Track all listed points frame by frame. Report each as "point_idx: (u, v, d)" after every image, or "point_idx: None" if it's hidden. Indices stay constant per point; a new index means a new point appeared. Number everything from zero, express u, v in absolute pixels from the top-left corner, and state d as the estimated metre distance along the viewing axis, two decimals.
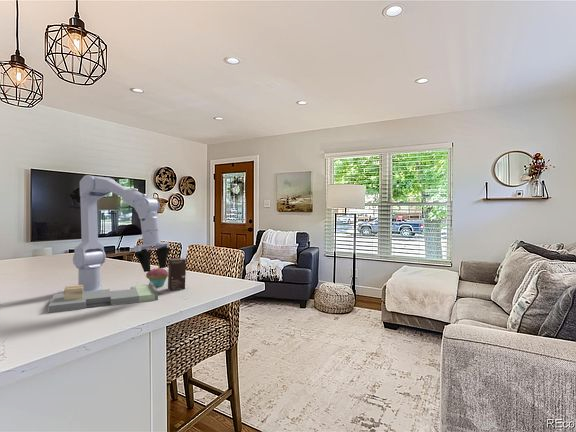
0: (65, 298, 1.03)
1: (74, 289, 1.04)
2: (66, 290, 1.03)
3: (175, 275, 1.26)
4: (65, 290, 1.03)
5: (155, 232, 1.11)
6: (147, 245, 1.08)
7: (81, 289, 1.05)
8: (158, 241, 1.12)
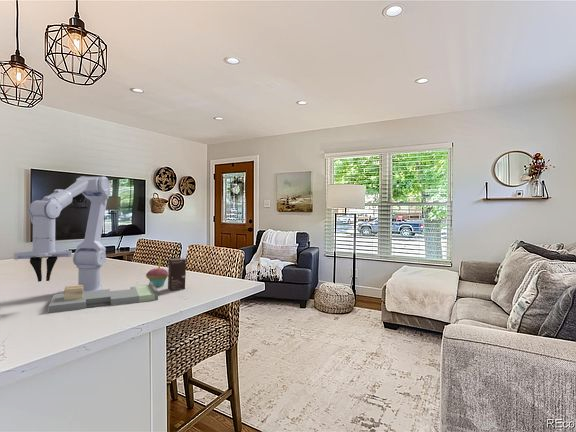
0: (65, 298, 1.03)
1: (74, 289, 1.04)
2: (66, 290, 1.03)
3: (175, 275, 1.26)
4: (65, 290, 1.03)
5: (39, 241, 0.99)
6: (26, 254, 0.98)
7: (81, 289, 1.05)
8: (43, 251, 0.99)
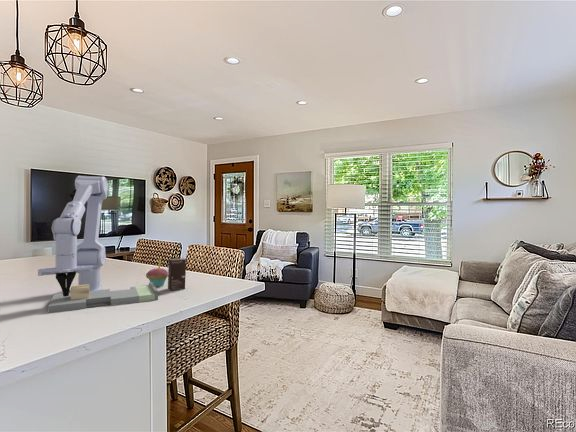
0: (72, 297, 1.04)
1: (80, 288, 1.05)
2: (73, 289, 1.04)
3: (175, 275, 1.26)
4: (72, 289, 1.04)
5: (62, 257, 1.02)
6: (50, 270, 1.01)
7: (87, 288, 1.06)
8: (65, 267, 1.02)
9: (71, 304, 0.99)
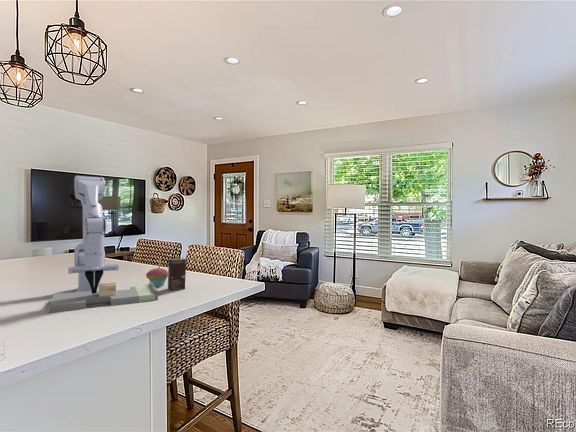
0: (100, 295, 1.08)
1: (108, 286, 1.09)
2: (101, 287, 1.08)
3: (175, 275, 1.26)
4: (100, 287, 1.07)
5: (91, 256, 1.06)
6: (79, 268, 1.05)
7: (114, 286, 1.10)
8: (94, 265, 1.06)
9: (71, 304, 0.99)
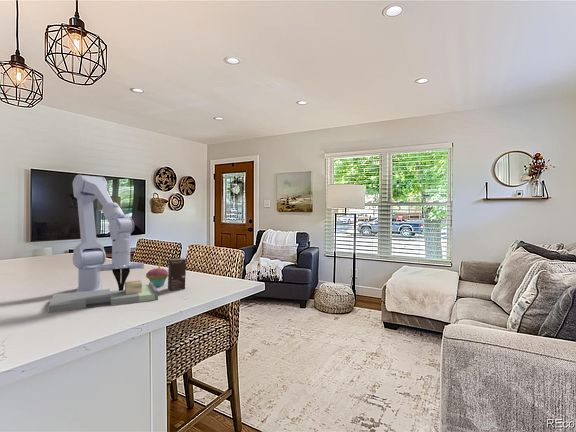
0: (127, 292, 1.12)
1: (134, 284, 1.13)
2: (128, 284, 1.12)
3: (175, 275, 1.26)
4: (127, 284, 1.12)
5: (119, 254, 1.10)
6: (108, 267, 1.09)
7: (140, 284, 1.14)
8: (121, 264, 1.10)
9: (71, 304, 0.99)
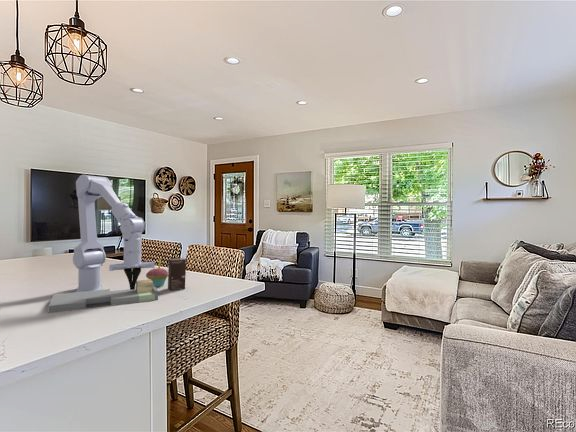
0: (138, 291, 1.13)
1: (145, 283, 1.15)
2: (139, 283, 1.14)
3: (175, 275, 1.26)
4: (138, 283, 1.13)
5: (131, 254, 1.12)
6: (120, 266, 1.11)
7: (151, 283, 1.16)
8: (133, 263, 1.12)
9: (71, 304, 0.99)
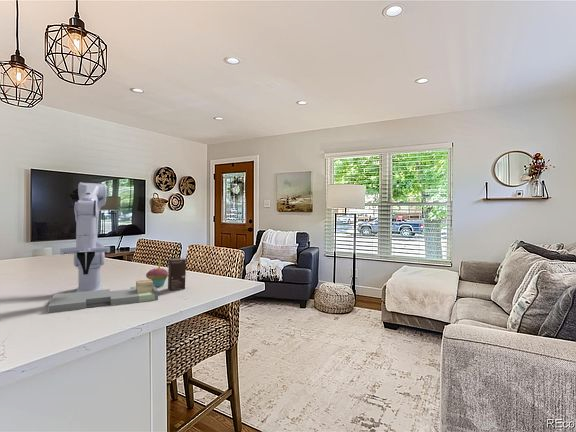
0: (138, 291, 1.13)
1: (145, 283, 1.15)
2: (139, 283, 1.14)
3: (175, 275, 1.26)
4: (138, 283, 1.13)
5: (83, 237, 1.08)
6: (71, 250, 1.07)
7: (151, 283, 1.16)
8: (86, 247, 1.09)
9: (71, 304, 0.99)
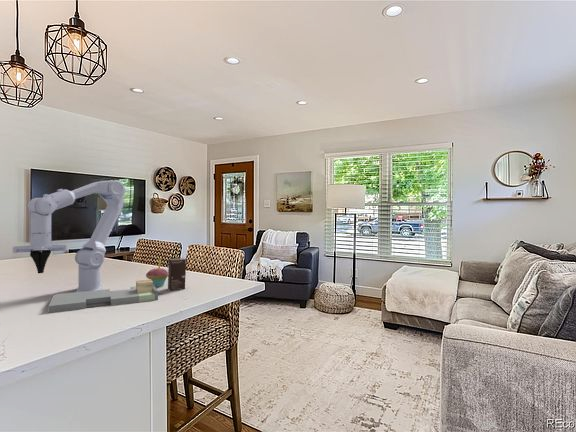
0: (138, 291, 1.13)
1: (145, 283, 1.15)
2: (139, 283, 1.14)
3: (175, 275, 1.26)
4: (138, 283, 1.13)
5: (36, 235, 1.06)
6: (24, 248, 1.05)
7: (151, 283, 1.16)
8: (39, 245, 1.06)
9: (71, 304, 0.99)
